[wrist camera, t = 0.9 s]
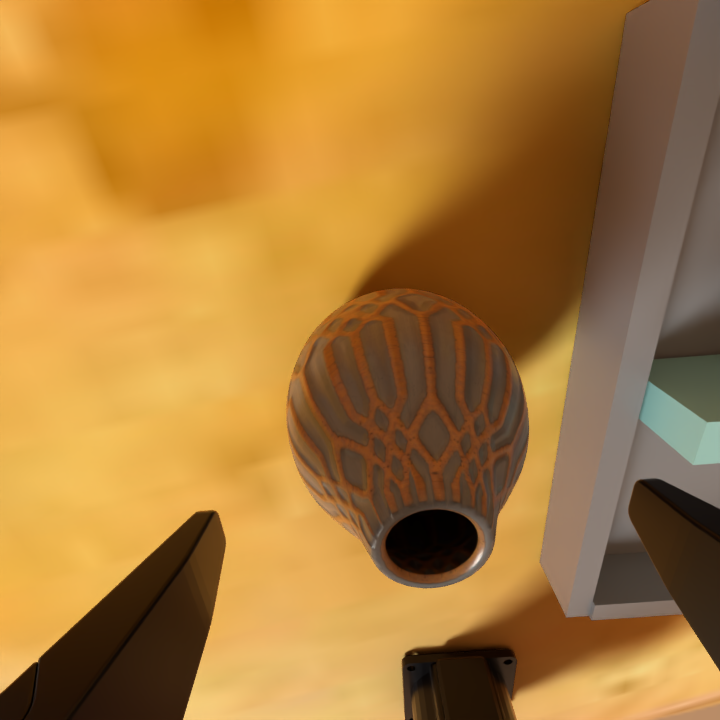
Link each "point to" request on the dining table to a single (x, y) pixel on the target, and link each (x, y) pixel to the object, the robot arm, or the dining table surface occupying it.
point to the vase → (410, 431)
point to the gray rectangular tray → (640, 309)
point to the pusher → (685, 406)
